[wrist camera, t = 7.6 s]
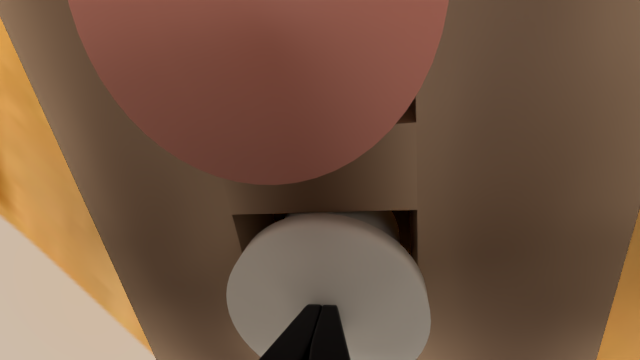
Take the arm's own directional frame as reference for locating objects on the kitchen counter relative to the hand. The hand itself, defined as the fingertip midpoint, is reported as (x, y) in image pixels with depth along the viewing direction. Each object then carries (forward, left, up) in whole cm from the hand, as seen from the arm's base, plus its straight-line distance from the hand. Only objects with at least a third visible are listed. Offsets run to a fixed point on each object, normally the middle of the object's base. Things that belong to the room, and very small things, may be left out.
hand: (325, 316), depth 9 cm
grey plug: (0, 0, -4) cm, 4 cm away
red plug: (0, -7, -2) cm, 8 cm away
